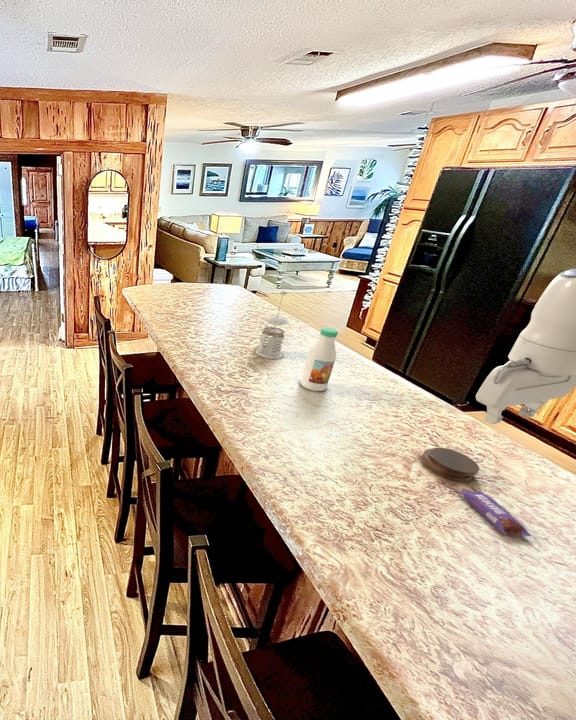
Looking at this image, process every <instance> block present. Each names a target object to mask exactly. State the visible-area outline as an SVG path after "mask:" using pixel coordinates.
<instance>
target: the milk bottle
mask: <svg viewBox="0 0 576 720" xmlns="http://www.w3.org/2000/svg"><path fill="white" fill-rule="evenodd" d="M338 334H339V331H338V330H337V329H335V328H331V327H322V328H321V329H320V332H319V338H318V340H316V342H315V343H314V344H313V345H312V346H311V348H310V349H309V351H308V355H307V358H306V361H305V364H304V367H303V371H302V375H301V378H300V385H301V386H302V387H304V388H305V389H307V390H310V391H314V392H323V391H325V390H326V389H327V387H328V383H329V381H330V378H331V375H332V372H333V370H334V369H333V368H334V365H335V361H336V358H337V350H336V349H337V348H336V345H335V343H336V342H335V341H336V339H337V336H338Z"/></svg>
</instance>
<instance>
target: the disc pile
mask: <svg viewBox="0 0 576 720" xmlns="http://www.w3.org/2000/svg"><path fill="white" fill-rule="evenodd" d="M422 461H423V464H424V466H425V467H426V468H428V469H429V470H430V472H433V473H434V474H436V475H438V476H440V477H442V478H444V479H447V480H450V481H453V482H458V483H459V482H461V483H466V482H469V481H471V479H472V478H473V476H477V474H478V473H479V471H480V466H479V465H478V464H477V462H476V461H474V460H473V459H472V458H470V457H469V456H467V455H466V454H464V453H461V452H459V451H457V450H454V449H450V448H446V447H432V448H427V449H425V450H424V451H423V453H422Z"/></svg>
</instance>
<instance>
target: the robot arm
mask: <svg viewBox="0 0 576 720" xmlns="http://www.w3.org/2000/svg"><path fill="white" fill-rule="evenodd" d="M507 357H508V361H506V362H505V364H504V365H499V366H496V367H495V368H494V369H492V370H491V371H490V373H489V374H488V375H487V376H486V378H485V379H484V381H483V382H482V384H481V386H480V387H479V389H478V391H477V392H476V394H475V400H476V401H477V402H478V403H480V404H481V405H484V406H486V414H485V417H483V419H484V421H485V422H486V423H488V424H490V425H497V424H500V423H501V421H502V420H503V418H504V416H503V415H502V413H503V411H506V408H510V407H515V406H520V409H519V410H518V412H517V414H518V415H519V416H522V417H523V418H524V419H525V418H526V419H528V418H533V417H534V416H535V415H536V414H537V412H538V411H539V410H540V409H541V408H543V406H545V405H546V404H547V403H548V402H549V400H556V399H561V398H565V397H566V396H568V395H569V394H570V393H571V392H572V391H573V390H574V389H575V388H576V267H573V268H569V269H567V270H564V271H562V272H560V273H559V274H558V275H557V276H555V278H553V279H552V280H551V282H549V284H548V285H547V287H546V288H545V289H544V291H543V292H542V293H541V296H540V297H539V299H538V301H537V302H536V304H535V306H534V308H533V309H532V311H531V314H530V320H529V323H528V324H527V326H526V327H525V328H524V329H523V330H521V332H520V333H519V335H518V337H517V339H516V340H515V342H514V344H513V346H512V348H511V350H510V352H509V354H508V355H507ZM521 405H522V406H521Z"/></svg>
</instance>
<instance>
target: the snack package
mask: <svg viewBox="0 0 576 720" xmlns="http://www.w3.org/2000/svg"><path fill="white" fill-rule="evenodd" d="M459 493H460V494H461V495H463V497H464V498H465V500H466V501H467V502H468V503H469V504H470V506H471V507H473V508H474V509H475V510H476V511H477V512H478V513H479V514H480V515H481V516H482V517H483V518H485V519H486V520H487V521H488V522H489V523H490V524H491V526H493V528H495V529H497V530H498V531H499V532H502V533H503V534H504V535H505V536H523V537H532V534H531V533H529V531H528V530H527V529H526V528H525V527H524V525H522V523H520V521H518V519H516V518H515V517H514V516H513V515H512V514H511V513H510V512H508V511H507V510H506V509H505V508H504V507H503V506H501V505H500V504H499V503H498V502H497V501H496V500H495V499H493V498H492V497H491V496H490V495H488V494H485V493H484V492H483V491H472V490H471V491H470V490H459Z"/></svg>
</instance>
